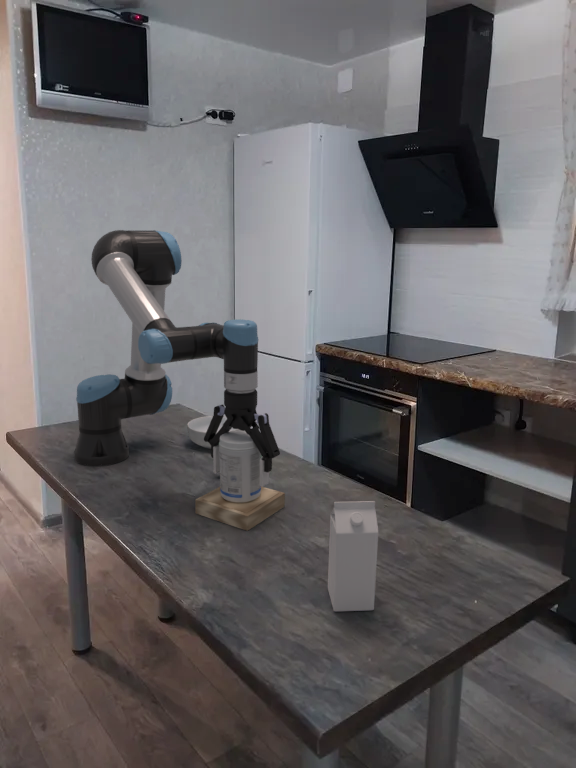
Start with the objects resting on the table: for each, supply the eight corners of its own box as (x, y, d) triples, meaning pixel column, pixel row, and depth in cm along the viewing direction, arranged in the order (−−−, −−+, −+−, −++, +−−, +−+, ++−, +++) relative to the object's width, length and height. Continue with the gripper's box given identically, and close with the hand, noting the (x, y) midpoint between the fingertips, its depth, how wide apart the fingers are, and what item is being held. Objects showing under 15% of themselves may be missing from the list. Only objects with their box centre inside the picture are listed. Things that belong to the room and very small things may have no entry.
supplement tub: (251, 484, 148) (251, 427, 144) (267, 499, 139) (268, 439, 136) (214, 491, 143) (213, 432, 140) (228, 507, 135) (227, 445, 132)
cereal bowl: (177, 449, 181) (176, 427, 180) (203, 433, 197) (203, 413, 195) (228, 457, 176) (228, 434, 174) (251, 440, 191) (251, 419, 189)
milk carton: (327, 589, 111) (331, 493, 106) (365, 588, 111) (370, 492, 107) (333, 612, 104) (337, 511, 99) (373, 611, 104) (379, 510, 100)
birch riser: (195, 513, 140) (195, 499, 139) (234, 491, 152) (234, 478, 151) (247, 530, 132) (247, 515, 131) (284, 506, 144) (284, 492, 144)
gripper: (187, 384, 139) (189, 471, 144) (277, 401, 126) (276, 495, 131) (208, 378, 145) (210, 461, 150) (296, 394, 132) (294, 484, 137)
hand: (240, 477), depth 140 cm, fingers open, 13 cm apart
